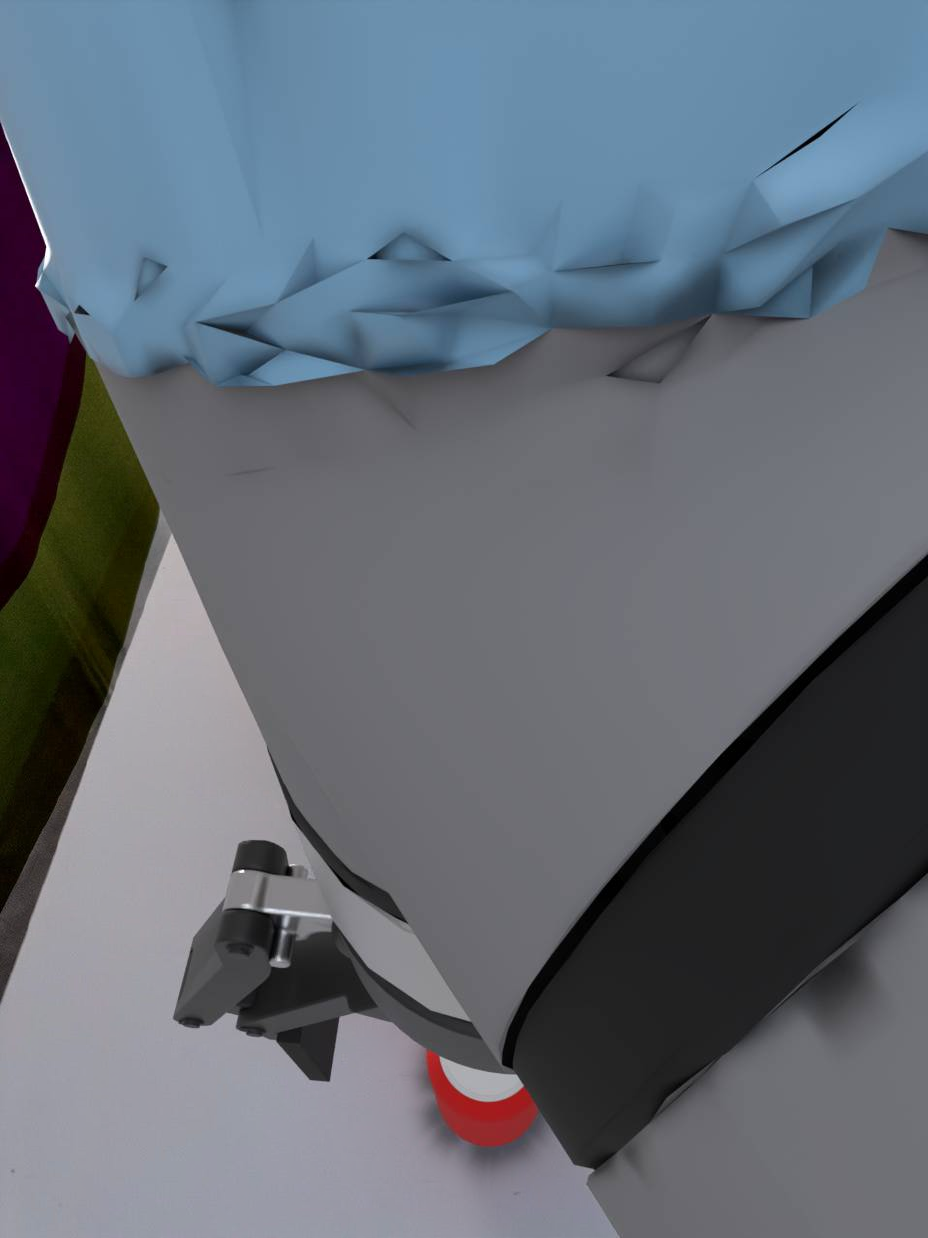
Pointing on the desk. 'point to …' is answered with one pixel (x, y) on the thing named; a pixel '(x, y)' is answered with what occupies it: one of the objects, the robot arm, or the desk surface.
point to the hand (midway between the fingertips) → (504, 1056)
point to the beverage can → (480, 1102)
